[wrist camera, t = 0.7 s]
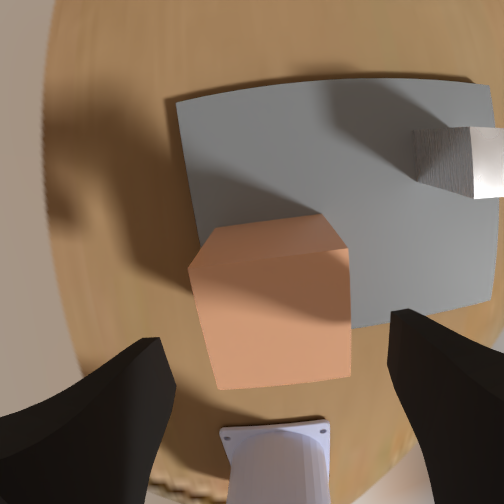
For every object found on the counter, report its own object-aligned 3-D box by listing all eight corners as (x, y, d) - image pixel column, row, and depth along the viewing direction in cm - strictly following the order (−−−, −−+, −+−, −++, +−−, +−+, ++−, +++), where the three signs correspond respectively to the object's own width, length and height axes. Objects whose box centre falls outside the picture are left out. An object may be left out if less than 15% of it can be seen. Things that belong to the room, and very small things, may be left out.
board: (482, 293, 17) (490, 300, 16) (224, 334, 19) (221, 343, 18) (479, 87, 13) (489, 85, 12) (181, 105, 15) (175, 102, 14)
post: (457, 179, 14) (520, 195, 9) (416, 181, 14) (474, 199, 9) (453, 130, 13) (516, 129, 8) (411, 130, 14) (469, 126, 9)
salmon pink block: (329, 310, 17) (350, 376, 12) (233, 321, 17) (218, 389, 12) (321, 213, 15) (348, 248, 10) (215, 227, 16) (187, 268, 10)
